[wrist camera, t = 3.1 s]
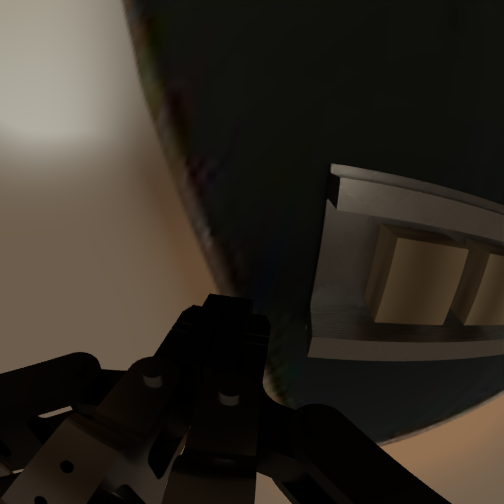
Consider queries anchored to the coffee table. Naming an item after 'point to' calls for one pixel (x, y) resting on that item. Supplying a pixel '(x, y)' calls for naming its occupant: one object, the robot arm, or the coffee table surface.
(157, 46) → the coffee table surface
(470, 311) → the chip
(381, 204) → the slot rail
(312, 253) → the coffee table surface
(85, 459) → the robot arm
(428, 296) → the beige square block
